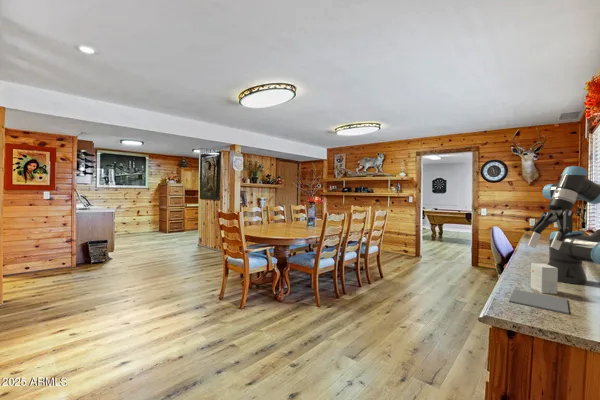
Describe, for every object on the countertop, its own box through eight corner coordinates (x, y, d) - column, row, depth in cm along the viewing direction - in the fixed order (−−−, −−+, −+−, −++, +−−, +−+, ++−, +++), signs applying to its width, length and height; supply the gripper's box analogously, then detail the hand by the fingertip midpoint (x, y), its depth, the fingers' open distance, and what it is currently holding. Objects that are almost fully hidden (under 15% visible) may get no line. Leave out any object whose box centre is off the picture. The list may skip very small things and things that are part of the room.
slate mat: (514, 290, 120) (514, 289, 120) (566, 300, 110) (566, 298, 110) (509, 301, 107) (509, 300, 107) (568, 314, 96) (568, 312, 96)
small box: (557, 294, 116) (558, 268, 116) (541, 293, 118) (542, 267, 117) (545, 288, 124) (545, 263, 124) (530, 287, 125) (530, 262, 125)
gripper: (533, 200, 136) (515, 242, 135) (577, 193, 111) (555, 244, 110) (549, 207, 135) (531, 249, 134) (598, 202, 110) (576, 253, 109)
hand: (542, 247), depth 122 cm, fingers open, 13 cm apart
